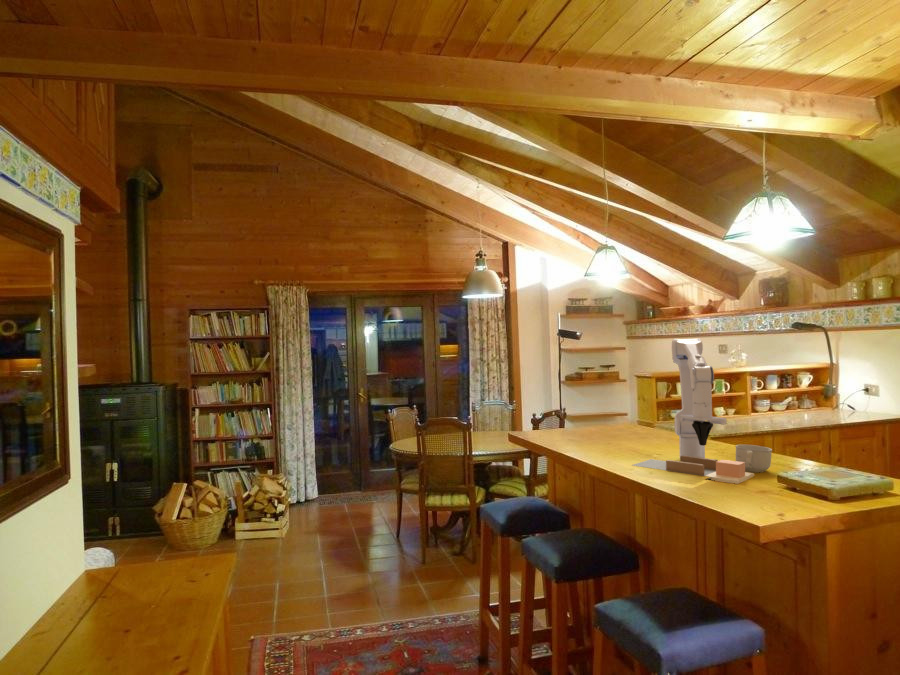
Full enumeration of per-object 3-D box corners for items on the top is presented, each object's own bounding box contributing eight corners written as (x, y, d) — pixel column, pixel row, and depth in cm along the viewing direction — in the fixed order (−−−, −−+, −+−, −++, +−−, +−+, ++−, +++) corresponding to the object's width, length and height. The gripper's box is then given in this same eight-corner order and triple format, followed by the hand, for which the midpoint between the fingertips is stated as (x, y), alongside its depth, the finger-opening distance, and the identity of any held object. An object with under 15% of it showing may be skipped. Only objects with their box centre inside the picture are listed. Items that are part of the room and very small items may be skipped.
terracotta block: (722, 471, 198) (722, 459, 198) (745, 475, 193) (744, 462, 193) (716, 474, 195) (715, 461, 195) (739, 477, 190) (738, 464, 190)
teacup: (743, 466, 212) (742, 442, 212) (777, 470, 204) (776, 446, 204) (726, 472, 202) (726, 448, 202) (762, 477, 194) (761, 452, 194)
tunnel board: (650, 462, 221) (650, 450, 221) (754, 476, 196) (753, 463, 196) (631, 468, 211) (631, 456, 211) (737, 484, 186) (737, 470, 186)
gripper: (675, 402, 203) (675, 444, 203) (720, 405, 193) (720, 449, 193) (684, 401, 208) (685, 441, 208) (728, 403, 198) (729, 446, 198)
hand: (702, 445), depth 200 cm, fingers closed
